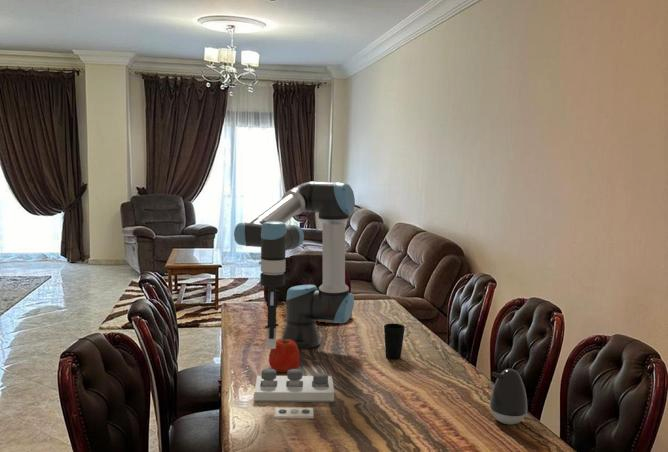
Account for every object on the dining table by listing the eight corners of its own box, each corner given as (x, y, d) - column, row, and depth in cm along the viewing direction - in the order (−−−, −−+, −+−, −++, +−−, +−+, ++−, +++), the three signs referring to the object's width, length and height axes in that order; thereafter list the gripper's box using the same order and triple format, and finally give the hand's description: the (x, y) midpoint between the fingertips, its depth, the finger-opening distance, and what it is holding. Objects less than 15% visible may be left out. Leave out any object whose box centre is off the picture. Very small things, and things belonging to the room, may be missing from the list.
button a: (312, 387, 189) (313, 372, 189) (327, 387, 189) (327, 373, 189) (313, 393, 185) (313, 378, 184) (328, 393, 185) (328, 378, 184)
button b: (287, 383, 188) (287, 368, 188) (301, 383, 189) (302, 368, 188) (287, 389, 184) (287, 373, 183) (302, 389, 184) (302, 374, 184)
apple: (286, 361, 216) (287, 333, 215) (306, 369, 208) (307, 339, 207) (262, 368, 208) (263, 338, 207) (282, 376, 200) (283, 346, 199)
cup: (402, 361, 219) (403, 329, 218) (381, 359, 221) (383, 328, 220) (404, 355, 227) (405, 324, 226) (384, 353, 228) (385, 322, 227)
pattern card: (275, 409, 174) (275, 406, 174) (313, 409, 174) (313, 406, 174) (274, 418, 168) (274, 415, 168) (313, 418, 168) (313, 415, 168)
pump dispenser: (483, 413, 175) (486, 363, 174) (517, 413, 176) (521, 363, 175) (495, 428, 165) (499, 375, 164) (532, 428, 166) (535, 375, 165)
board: (257, 384, 193) (257, 375, 192) (331, 385, 194) (331, 376, 194) (254, 401, 179) (254, 392, 179) (334, 402, 180) (334, 392, 180)
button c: (261, 383, 188) (261, 368, 187) (276, 383, 188) (276, 368, 188) (260, 388, 183) (261, 373, 183) (275, 388, 184) (276, 373, 183)
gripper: (261, 268, 188) (260, 341, 191) (259, 276, 175) (258, 354, 178) (285, 269, 189) (283, 341, 191) (285, 276, 176) (283, 354, 178)
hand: (271, 347), depth 184 cm, fingers closed
